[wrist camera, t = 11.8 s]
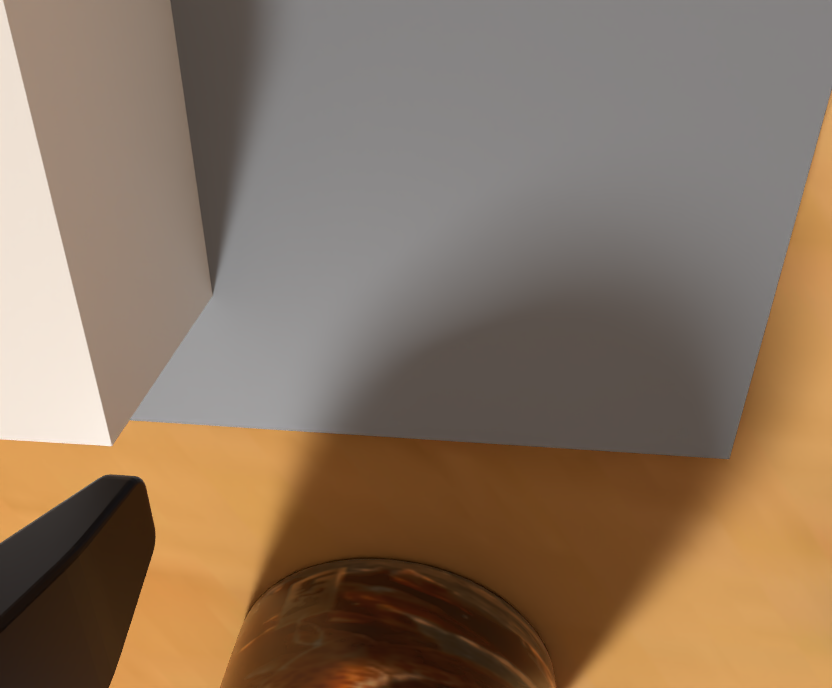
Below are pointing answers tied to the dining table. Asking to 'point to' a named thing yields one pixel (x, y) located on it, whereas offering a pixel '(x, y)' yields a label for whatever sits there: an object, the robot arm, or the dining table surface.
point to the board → (492, 214)
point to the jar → (385, 632)
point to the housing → (92, 215)
